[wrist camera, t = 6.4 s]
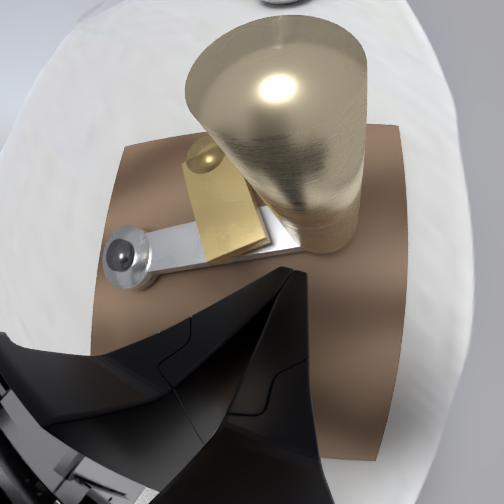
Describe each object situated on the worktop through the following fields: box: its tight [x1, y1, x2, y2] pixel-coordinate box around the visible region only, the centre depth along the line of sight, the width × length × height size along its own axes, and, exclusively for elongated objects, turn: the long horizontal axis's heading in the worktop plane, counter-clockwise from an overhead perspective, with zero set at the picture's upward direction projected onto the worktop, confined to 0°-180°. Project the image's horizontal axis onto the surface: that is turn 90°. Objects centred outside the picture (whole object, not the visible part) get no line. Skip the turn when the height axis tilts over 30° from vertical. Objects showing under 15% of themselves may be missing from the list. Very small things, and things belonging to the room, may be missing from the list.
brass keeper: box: [182, 135, 271, 265], centre depth 16 cm, size 7×3×3 cm, turn 19°
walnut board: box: [91, 124, 408, 461], centre depth 17 cm, size 20×21×1 cm
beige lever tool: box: [102, 15, 367, 290], centre depth 11 cm, size 16×4×11 cm, turn 96°
